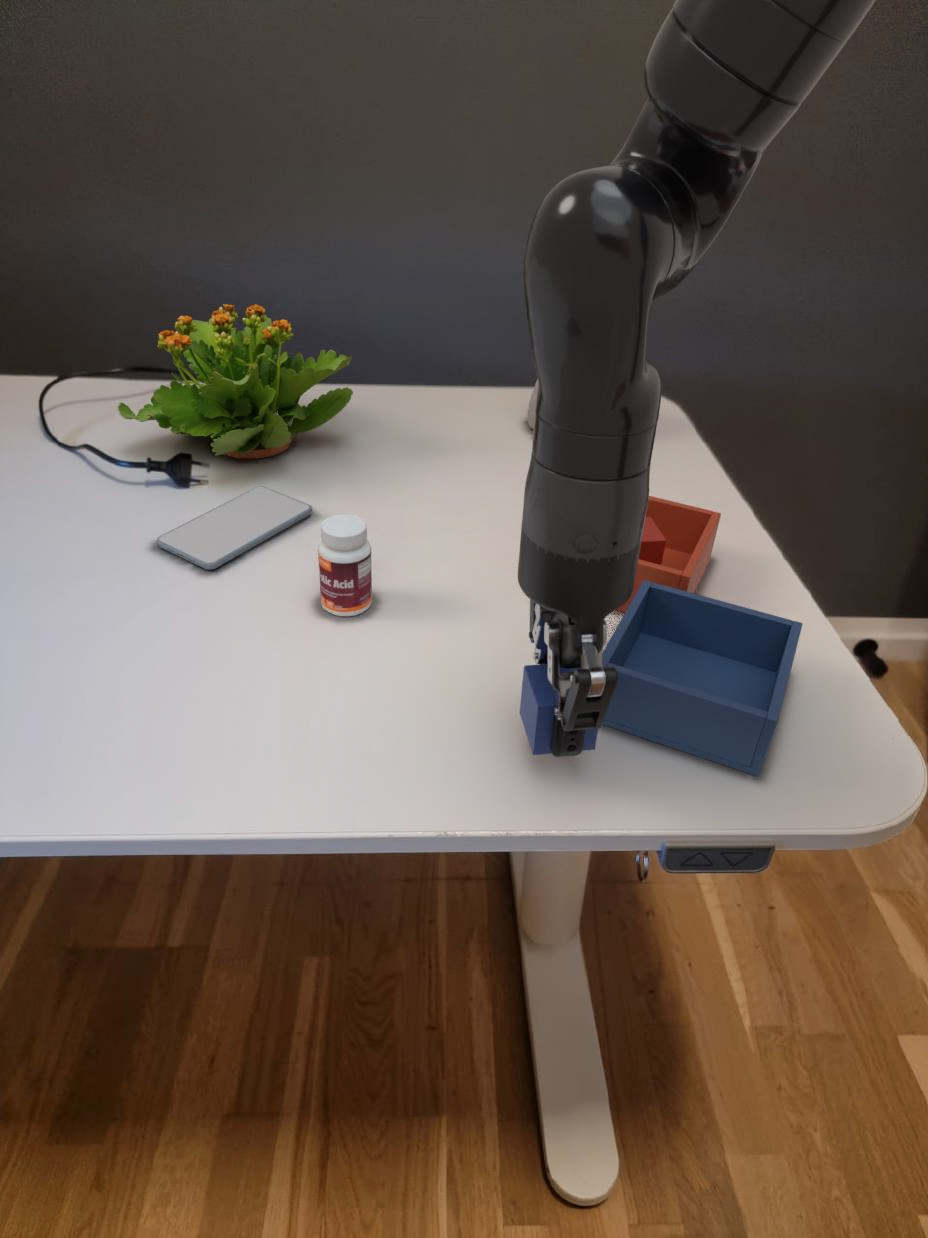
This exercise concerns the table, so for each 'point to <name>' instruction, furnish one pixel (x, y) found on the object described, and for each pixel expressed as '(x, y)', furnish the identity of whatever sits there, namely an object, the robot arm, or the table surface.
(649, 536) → the red block
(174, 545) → the smartphone
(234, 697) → the table surface
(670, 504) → the terracotta bin
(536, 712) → the blue block
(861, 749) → the table surface
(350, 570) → the pill bottle
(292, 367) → the potted flower
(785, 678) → the slate bin
